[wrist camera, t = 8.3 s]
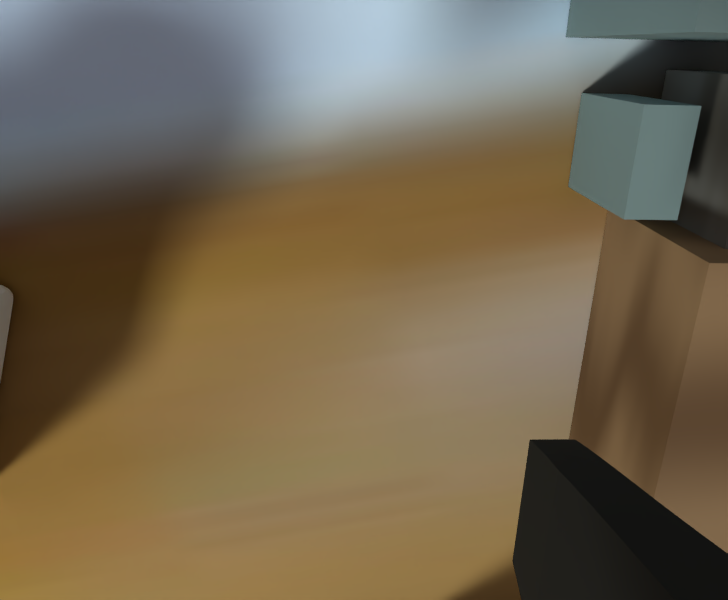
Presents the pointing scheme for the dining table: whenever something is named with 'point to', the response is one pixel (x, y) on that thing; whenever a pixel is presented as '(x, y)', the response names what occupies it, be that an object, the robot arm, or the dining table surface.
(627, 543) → the robot arm
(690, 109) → the grey boxy pieces
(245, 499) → the dining table surface
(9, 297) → the medicine bottle
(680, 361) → the rail
